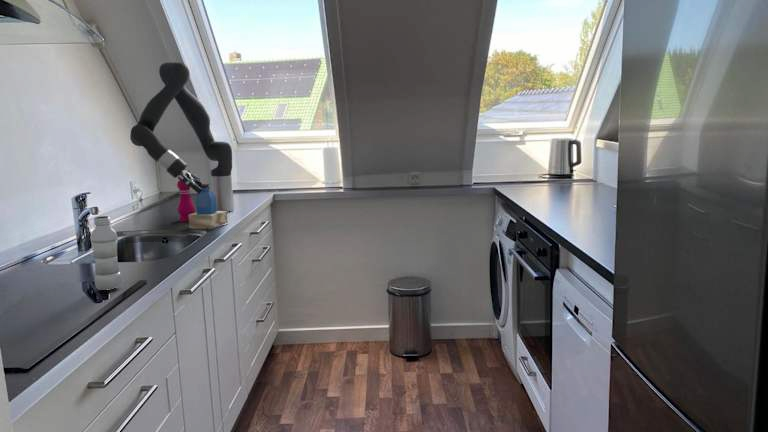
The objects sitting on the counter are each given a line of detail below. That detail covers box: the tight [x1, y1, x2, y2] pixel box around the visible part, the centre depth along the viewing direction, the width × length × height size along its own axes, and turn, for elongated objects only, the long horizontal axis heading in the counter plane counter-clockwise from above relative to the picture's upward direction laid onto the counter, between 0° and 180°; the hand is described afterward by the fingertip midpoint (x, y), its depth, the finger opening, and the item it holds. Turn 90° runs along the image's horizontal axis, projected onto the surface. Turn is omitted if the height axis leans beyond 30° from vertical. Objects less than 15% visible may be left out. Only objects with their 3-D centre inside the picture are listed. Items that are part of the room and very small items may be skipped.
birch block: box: [188, 211, 228, 230], centre depth 234 cm, size 11×11×6 cm
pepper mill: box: [176, 179, 196, 223], centre depth 245 cm, size 7×7×20 cm
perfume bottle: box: [195, 183, 217, 214], centre depth 232 cm, size 6×6×12 cm
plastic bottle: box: [89, 215, 123, 291], centre depth 149 cm, size 6×7×20 cm
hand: (203, 190), depth 231 cm, fingers open, 8 cm apart
